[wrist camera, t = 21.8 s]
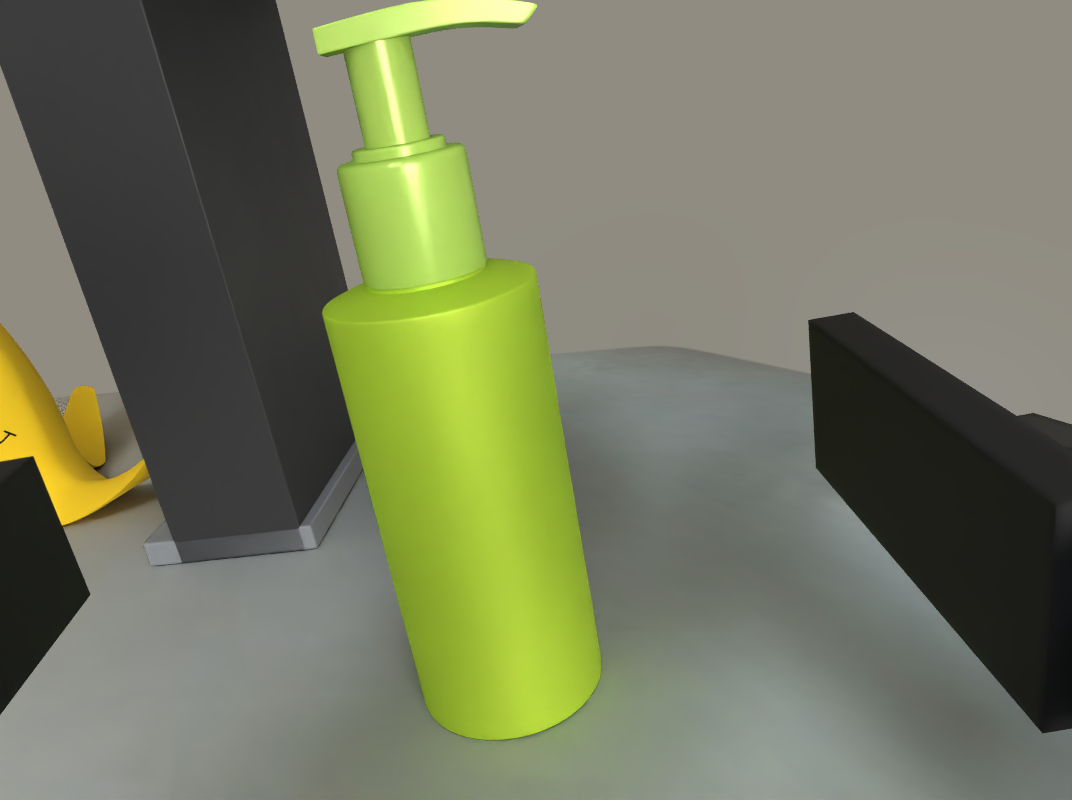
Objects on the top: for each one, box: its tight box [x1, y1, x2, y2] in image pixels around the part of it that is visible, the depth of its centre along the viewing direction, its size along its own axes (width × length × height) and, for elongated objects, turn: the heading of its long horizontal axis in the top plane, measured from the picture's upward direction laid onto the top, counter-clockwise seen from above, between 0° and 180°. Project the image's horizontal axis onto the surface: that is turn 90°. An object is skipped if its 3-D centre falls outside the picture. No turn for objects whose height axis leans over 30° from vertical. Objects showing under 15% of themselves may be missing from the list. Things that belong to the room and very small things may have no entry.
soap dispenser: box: [312, 0, 602, 740], centre depth 25 cm, size 6×7×20 cm
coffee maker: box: [0, 0, 363, 566], centre depth 39 cm, size 22×14×28 cm, turn 86°
